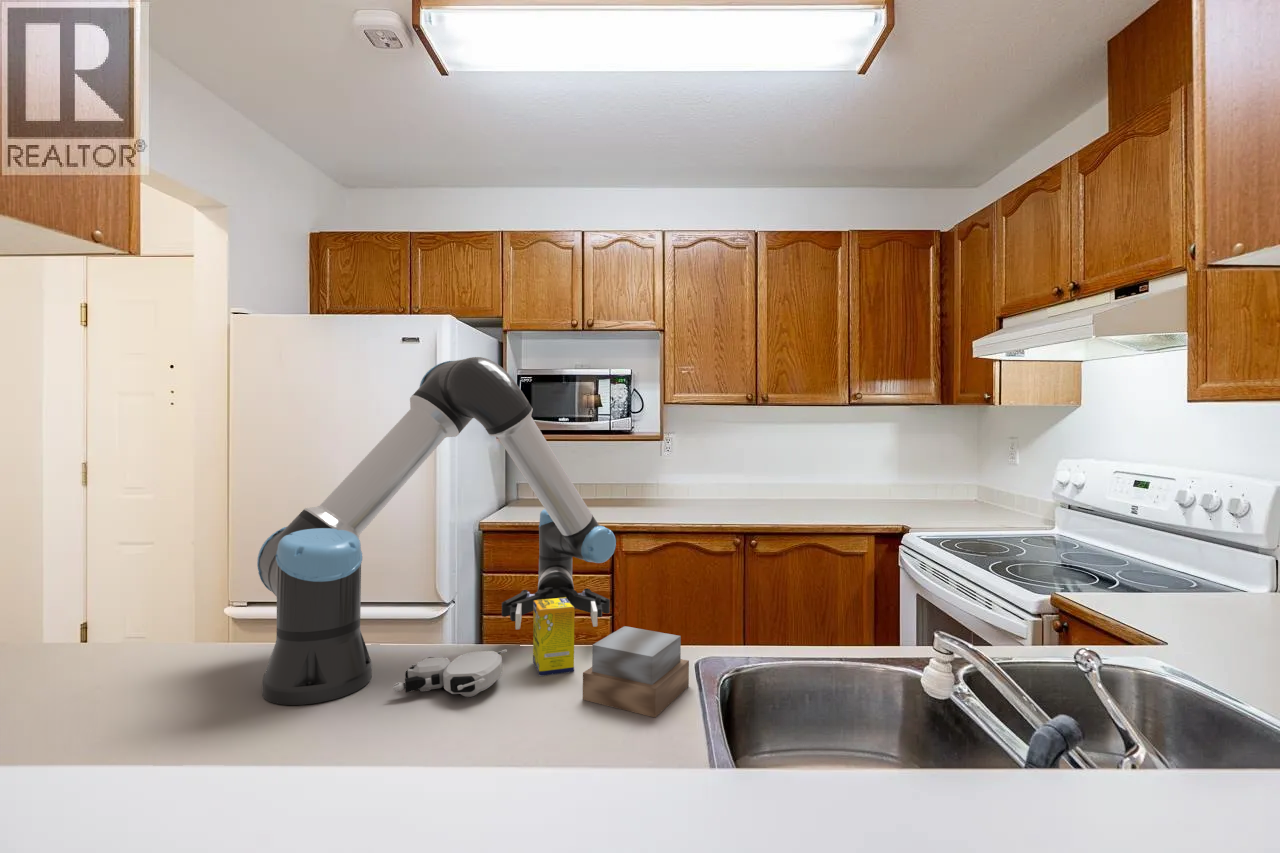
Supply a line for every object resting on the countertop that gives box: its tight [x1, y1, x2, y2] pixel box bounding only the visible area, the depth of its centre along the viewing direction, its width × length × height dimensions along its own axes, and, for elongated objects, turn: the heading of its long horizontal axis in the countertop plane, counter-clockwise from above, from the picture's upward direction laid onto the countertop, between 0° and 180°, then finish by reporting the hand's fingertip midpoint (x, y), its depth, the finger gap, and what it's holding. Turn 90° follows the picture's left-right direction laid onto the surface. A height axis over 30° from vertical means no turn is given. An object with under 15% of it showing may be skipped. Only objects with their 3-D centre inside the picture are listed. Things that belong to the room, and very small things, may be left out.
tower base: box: [582, 625, 690, 718], centre depth 95 cm, size 12×12×8 cm
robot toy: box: [392, 649, 508, 698], centre depth 96 cm, size 12×4×15 cm
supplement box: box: [532, 597, 576, 677], centre depth 104 cm, size 6×6×11 cm
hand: (556, 620), depth 109 cm, fingers open, 13 cm apart
